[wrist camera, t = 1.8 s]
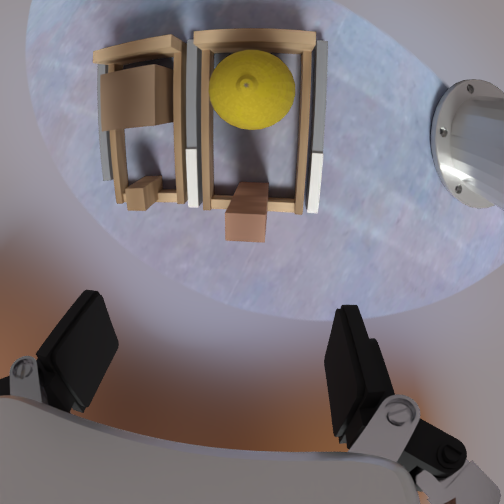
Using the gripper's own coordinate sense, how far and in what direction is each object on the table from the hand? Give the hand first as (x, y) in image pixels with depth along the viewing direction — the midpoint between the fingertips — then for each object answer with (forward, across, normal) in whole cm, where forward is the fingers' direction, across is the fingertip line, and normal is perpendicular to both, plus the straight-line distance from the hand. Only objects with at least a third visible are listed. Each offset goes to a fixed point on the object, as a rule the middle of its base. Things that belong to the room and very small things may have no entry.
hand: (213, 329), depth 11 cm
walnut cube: (+16, +8, -9) cm, 20 cm away
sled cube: (+16, +8, -7) cm, 19 cm away
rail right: (+16, +12, -8) cm, 21 cm away
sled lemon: (+16, -1, -7) cm, 17 cm away
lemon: (+16, -1, -9) cm, 18 cm away
